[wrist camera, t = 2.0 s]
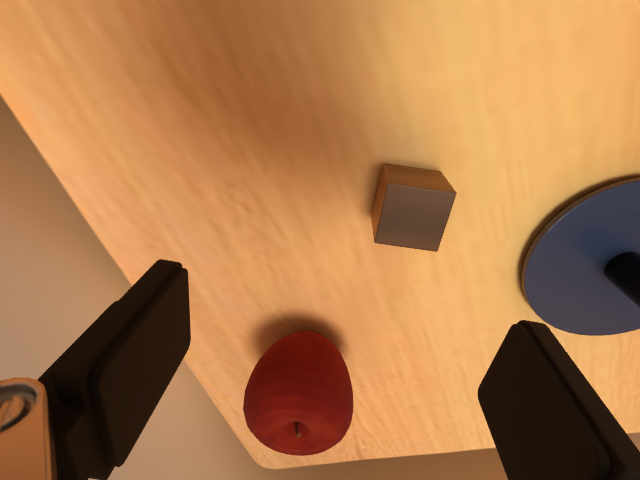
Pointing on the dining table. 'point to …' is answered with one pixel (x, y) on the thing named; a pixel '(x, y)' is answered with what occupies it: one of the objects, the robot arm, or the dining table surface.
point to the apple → (299, 395)
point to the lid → (589, 264)
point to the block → (411, 207)
